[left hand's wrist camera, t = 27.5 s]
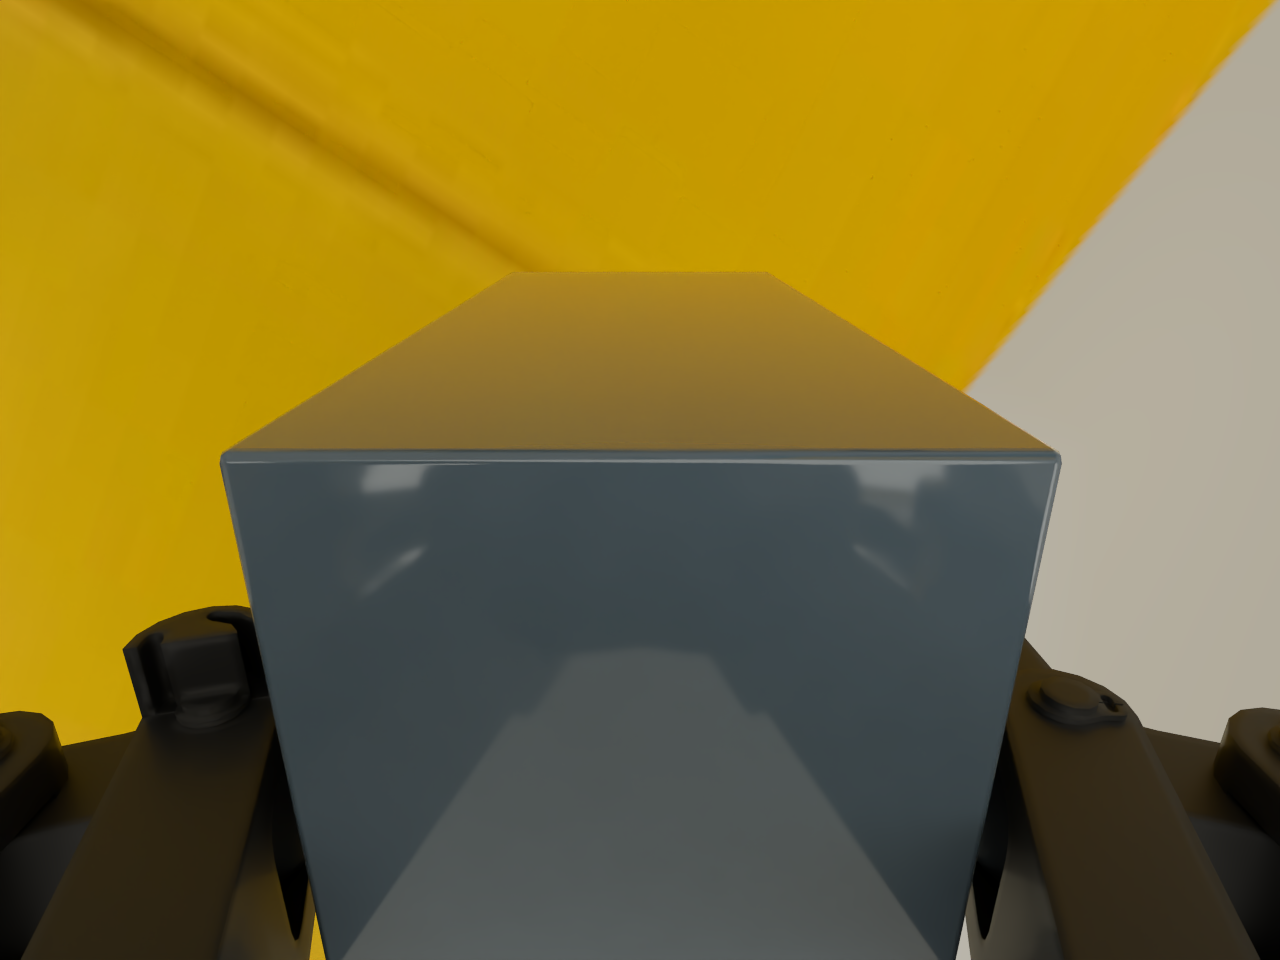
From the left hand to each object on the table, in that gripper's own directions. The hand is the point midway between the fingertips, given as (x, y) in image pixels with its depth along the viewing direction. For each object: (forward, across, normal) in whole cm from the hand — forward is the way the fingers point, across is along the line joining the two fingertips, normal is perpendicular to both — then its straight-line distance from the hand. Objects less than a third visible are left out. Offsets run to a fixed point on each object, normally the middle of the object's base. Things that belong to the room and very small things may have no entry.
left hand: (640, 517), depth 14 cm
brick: (+4, 0, 0) cm, 4 cm away
